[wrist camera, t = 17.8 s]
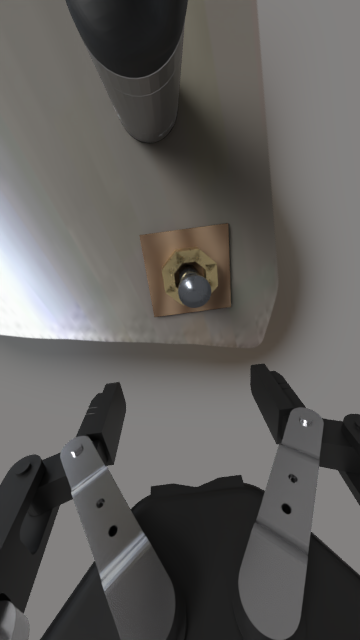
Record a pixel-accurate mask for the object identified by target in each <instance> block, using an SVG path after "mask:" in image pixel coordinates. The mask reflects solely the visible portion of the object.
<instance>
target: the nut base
mask: <svg viewBox="0 0 360 640" xmlns="http://www.w3.org/2000/svg"><path fill="white" fill-rule="evenodd" d="M140 241H141V246H142V252H143V257H144V262H145V268H146V273H147V279H148V284H149V290H150V295H151V300H152V306H153V311H154V317H159V316H166V315H174V314H181V313H189V312H196V311H204V310H211V309H219V308H226V307H231V291H230V262H229V232H228V223H226V224H219V225H211V226H204V227H197V228H189V229H182V230H174V231H167V232H160V233H152V234H145V235H140ZM185 265H192V266H194V267H195V268H196V270H197V272H198V273H199V275H201V276H203V277H204V278H206V279H207V281H208V282H209V284H210V286H211V296H210V299H209V300H208V302H207V303H206V304H205V305H203V306H201V307H198V308H190V307H187V306H186V305H184V304H183V303H182V302H181V300H180V299H179V295H178V287H179V284H180V279H179V271H180V269H181V268H182V267H183V266H185Z"/></svg>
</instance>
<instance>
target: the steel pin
mask: <svg viewBox="0 0 360 640" xmlns="http://www.w3.org/2000/svg"><path fill="white" fill-rule="evenodd" d="M179 279H180V284H179V287H178V295H179V299H180V300H181V302H182V303H183V304H184V305H186V306H187V307H190V308H198V307H201V306H203V305H205V304H206V303H207V302H208V300H209V299H210V296H211V286H210V284H209V282H208V281H207V279H206V278H204V277H203V276H201V275H199V273H198V272H197V270H196V268H195V267H194V266H192V265H185V266H183V267H182V268H181V269H180V271H179Z"/></svg>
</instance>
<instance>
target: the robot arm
mask: <svg viewBox="0 0 360 640" xmlns="http://www.w3.org/2000/svg"><path fill="white" fill-rule="evenodd" d="M187 2H188V0H66V3H67V6H68V8H69V11H70V14H71V16H72V18H73V21H74V23H75V25H76V27H77V29H78V31H79V33H80V35H81V37H82V40H83V42H84V44H85V46H86V48H87V50H88V52H89V55H90V57H91V59H92V61H93V63H94V65H95V67H96V69H97V71H98V73H99V76H100V78H101V80H102V82H103V84H104V86H105V88H106V91H107V93H108V95H109V97H110V99H111V101H112V104H113V106H114V108H115V110H116V112H117V115H118V117H119V119H120V121H121V123H122V125H123V126H124V128H125V130H126V131H127V132H128V133H129V134H130V135H131V136H132V137H134V138H135V139H137V140H139V141H141V142H146V143H152V142H156V141H159V140H161V139H163V138H164V137H165V136H166V135H167V134H168V133H169V132H170V131H171V129H172V127H173V126H174V123H175V120H176V117H177V111H178V99H179V88H180V75H181V63H182V50H183V37H184V24H185V15H186V9H187ZM250 385H251V391H252V395H253V397H254V399H255V401H256V403H257V405H258V407H259V409H260V411H261V413H262V415H263V418H264V420H265V422H266V423H267V426H268V428H269V430H270V432H271V434H272V436H273V438H274V440H275V442H276V444H279V446H278V449H277V453H276V456H275V459H274V463H273V466H272V470H271V473H270V476H269V480H268V483H267V487H266V490H265V491H264V490H262V489H260V488H258V487H256V486H254V485H250V484H247V483H243V480H242V477H241V475H236V476H229V477H221V478H217V479H215V480H213V481H210V482H208V483H206V484H203V485H201V486H199V487H190V486H185V485H178V484H166V485H159V486H152V487H151V495H149V496H147V497H145V498H144V499H142V500H141V501H139V502H138V503H137V504H136V505H135V506H134V507H133V508H132V509H130V508H129V506H128V504H127V502H126V500H125V499H124V497H123V495H122V493H121V491H120V490H119V488H118V486H117V484H116V482H115V481H114V479H113V477H112V475H111V473H110V471H109V470H108V468H107V466H108V465H114V461H115V457H116V452H117V448H118V444H119V439H120V435H121V430H122V425H123V421H124V417H125V413H126V402H125V399H124V395H123V392H122V388H121V385H120V383H119V382H116V383H109V384H106V385H105V388H104V390H103V393H99V394H97V395H96V396H95V398H94V399H93V400H92V401H91V403H90V406H89V409H88V410H87V413H86V415H85V417H84V420H83V422H82V424H81V426H80V429H79V431H78V434H77V436H76V438H74V439H72V440H70V441H69V442H68V443H67V444H66V445H65V446H64V447H63V449H62V451H61V453H58V454H56V455H54V456H51V457H49V458H46V459H44V460H42V459H41V458H40V456H38V455H29V456H27V457H24V458H22V459H21V460H19V461H18V462H17V463H15V464H14V465H13V466H12V468H11V469H10V470H9V471H8V473H7V475H6V476H5V478H4V480H3V481H2V483H1V485H0V640H28V637H29V622H28V619H27V617H26V616H25V615H24V611H25V608H26V605H27V602H28V599H29V596H30V592H31V590H32V587H33V584H34V580H35V578H36V575H37V572H38V569H39V566H40V563H41V560H42V557H43V554H44V551H45V548H46V545H47V542H48V539H49V536H50V533H51V530H52V527H53V524H54V520H55V518H56V515H57V512H58V509H59V506H60V505H61V504H63V503H65V502H67V501H69V500H71V499H73V500H74V503H75V506H76V508H77V511H78V514H79V517H80V520H81V523H82V525H83V529H84V532H85V534H86V537H87V540H88V543H89V545H90V548H91V551H92V554H93V557H94V560H95V561H94V562H93V564H92V565H91V567H90V568H89V570H88V571H87V573H86V574H85V575H84V577H83V578H82V580H81V581H80V583H79V584H78V585H77V587H76V588H75V590H74V591H73V593H72V594H71V596H70V597H69V598H68V600H67V601H66V603H65V604H64V606H63V607H62V609H61V610H60V612H59V613H58V614H57V616H56V617H55V619H54V620H53V622H52V623H51V625H50V626H49V628H48V629H47V630H46V632H45V633H44V635H43V636H42V638H41V639H40V640H360V575H359V574H358V573H357V572H355V571H354V570H353V569H352V568H351V567H350V566H349V565H348V564H347V563H346V562H344V561H343V560H342V559H341V558H340V557H339V556H338V555H337V554H335V553H334V552H333V551H332V550H331V549H330V548H329V547H328V546H327V545H325V544H324V543H323V542H322V541H321V540H320V539H319V538H318V537H317V536H316V535H314V534H313V533H312V532H311V526H312V518H313V510H314V502H315V494H316V486H317V478H318V470H319V466H320V467H325V468H330V469H336V470H338V471H339V473H340V474H341V476H342V478H343V479H344V481H345V483H346V484H347V486H348V487H349V489H350V491H351V492H352V494H353V495H354V497H355V499H356V500H357V502H358V503H359V505H360V415H359V414H349V415H347V416H345V417H344V420H343V422H342V421H335V420H327V419H323V418H321V416H320V415H319V414H317V413H316V412H315V411H313V410H310V409H308V408H306V407H305V406H304V404H303V403H302V402H301V400H300V399H299V398H298V396H297V395H296V394H295V392H294V391H293V390H292V389H291V387H290V386H289V384H288V383H287V382H286V380H285V379H284V378H283V376H282V375H280V374H279V373H277V372H276V371H269V370H268V368H267V367H266V365H265V364H258V365H257V364H256V365H251V383H250Z"/></svg>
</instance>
